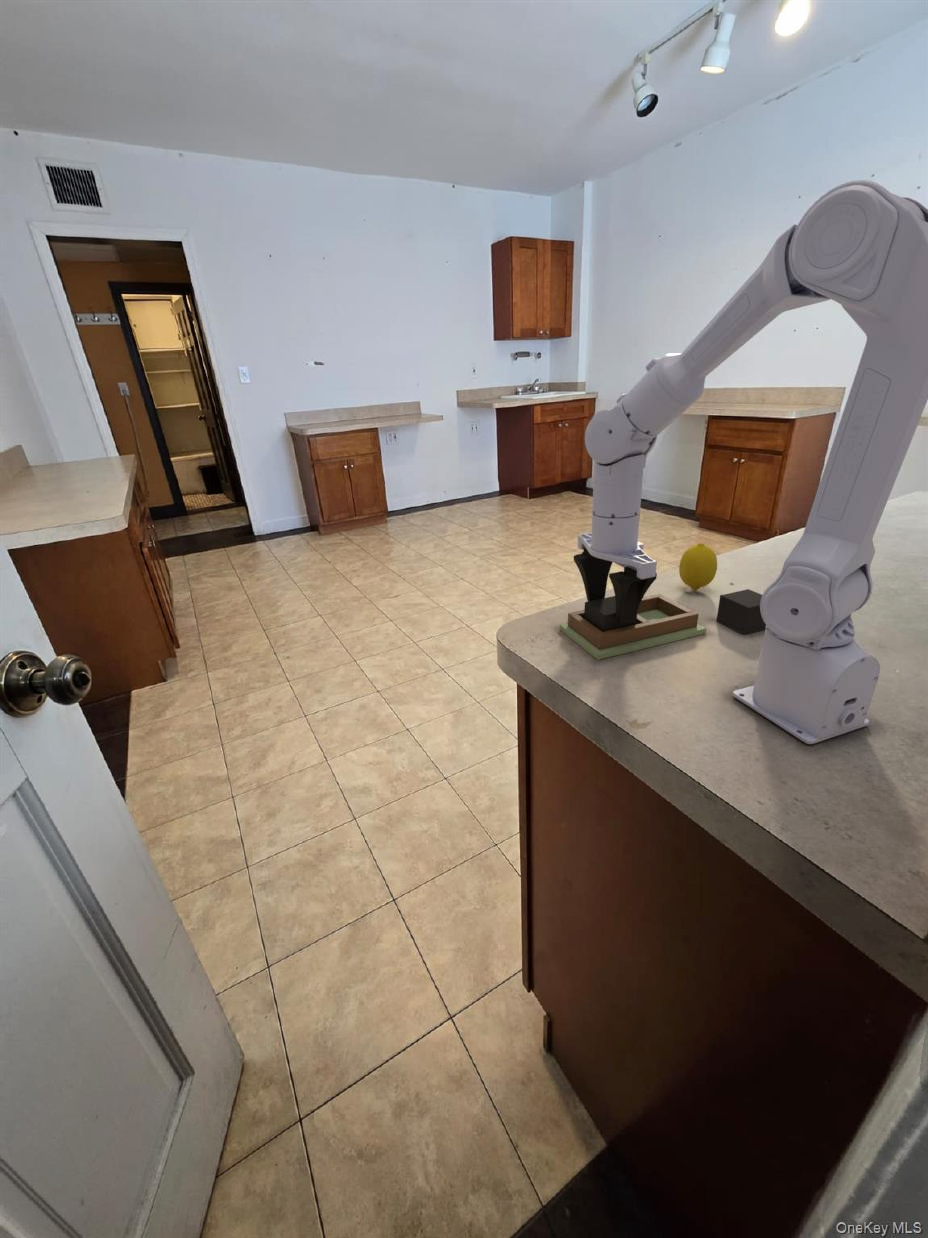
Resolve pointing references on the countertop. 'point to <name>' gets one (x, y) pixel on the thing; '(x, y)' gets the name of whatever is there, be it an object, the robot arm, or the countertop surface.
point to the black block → (741, 611)
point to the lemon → (698, 566)
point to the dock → (636, 628)
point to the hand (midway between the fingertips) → (609, 612)
